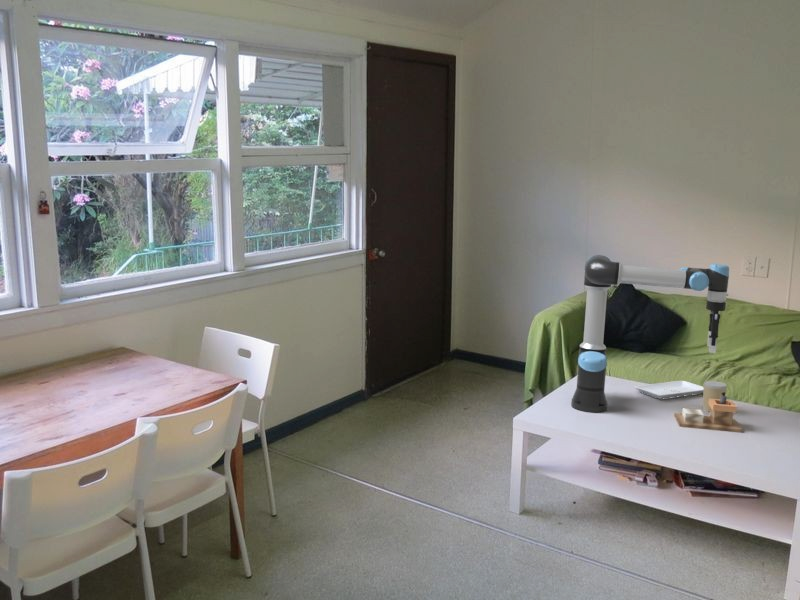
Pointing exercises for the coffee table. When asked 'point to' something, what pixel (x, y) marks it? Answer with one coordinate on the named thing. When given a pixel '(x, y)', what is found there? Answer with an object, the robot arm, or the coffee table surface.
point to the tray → (660, 393)
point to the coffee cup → (712, 392)
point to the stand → (708, 419)
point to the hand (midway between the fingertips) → (711, 349)
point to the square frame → (722, 405)
